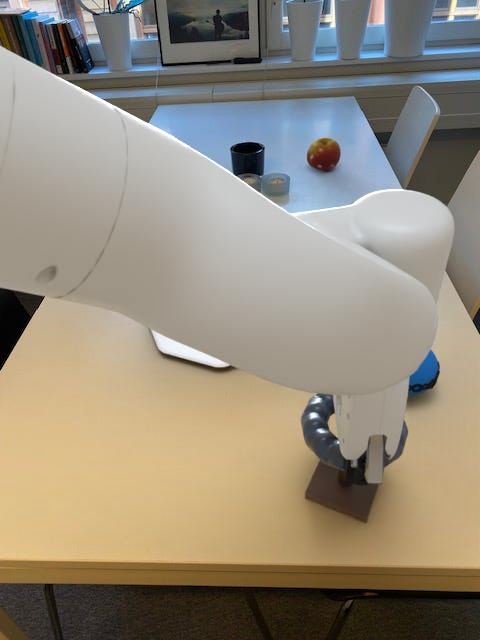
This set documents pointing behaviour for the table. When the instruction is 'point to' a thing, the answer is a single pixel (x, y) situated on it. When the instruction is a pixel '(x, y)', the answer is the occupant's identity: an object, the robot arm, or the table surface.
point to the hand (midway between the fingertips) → (357, 462)
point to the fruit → (323, 154)
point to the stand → (341, 492)
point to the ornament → (424, 375)
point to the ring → (325, 440)
